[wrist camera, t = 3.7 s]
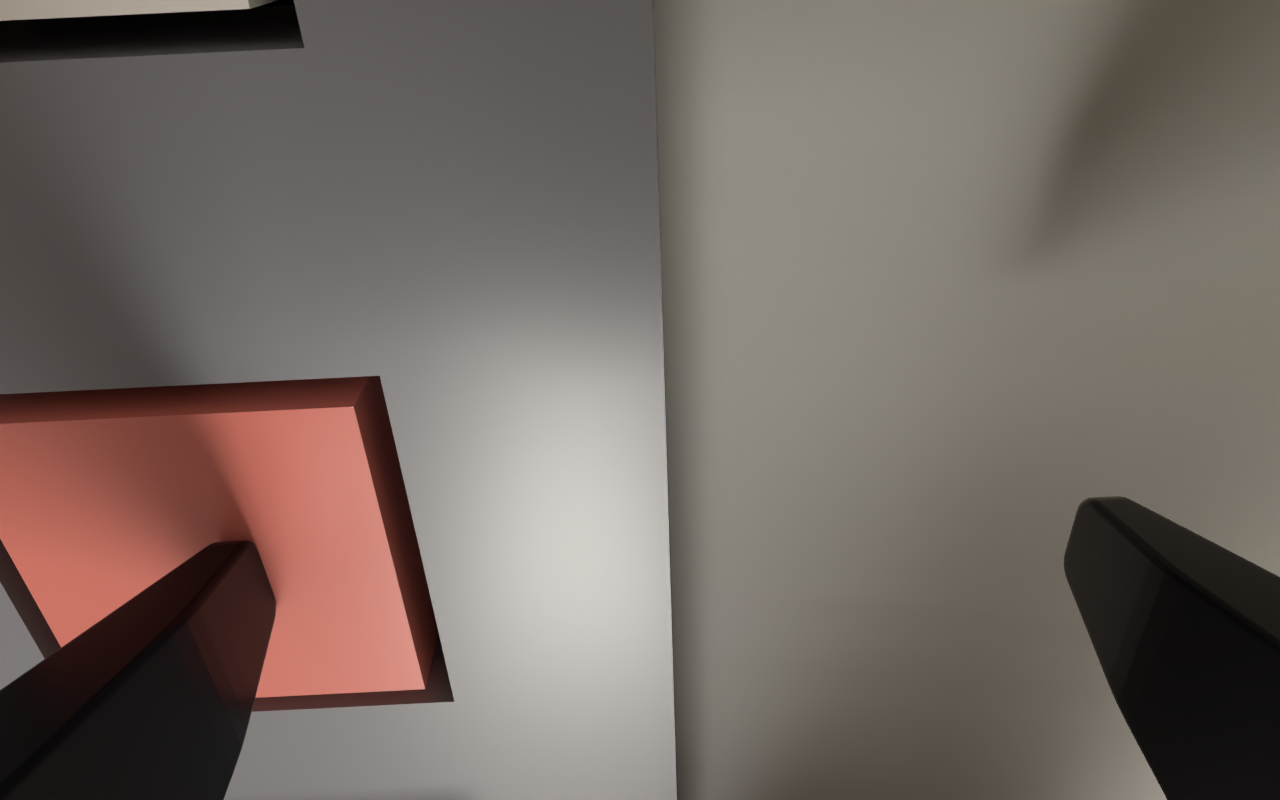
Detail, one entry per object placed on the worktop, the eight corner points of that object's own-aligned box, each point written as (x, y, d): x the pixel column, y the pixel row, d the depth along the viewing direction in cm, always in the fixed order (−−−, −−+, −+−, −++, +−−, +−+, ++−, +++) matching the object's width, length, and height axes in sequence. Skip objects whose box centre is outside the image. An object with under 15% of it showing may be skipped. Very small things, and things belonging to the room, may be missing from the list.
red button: (463, 528, 13) (425, 689, 10) (199, 541, 13) (93, 705, 10) (416, 284, 11) (354, 407, 8) (101, 298, 11) (-62, 427, 8)
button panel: (672, 862, 18) (684, 1052, 15) (214, 886, 18) (135, 1080, 15) (602, -1068, 6) (592, -2033, 3) (-803, -1004, 6) (-2237, -1916, 3)
